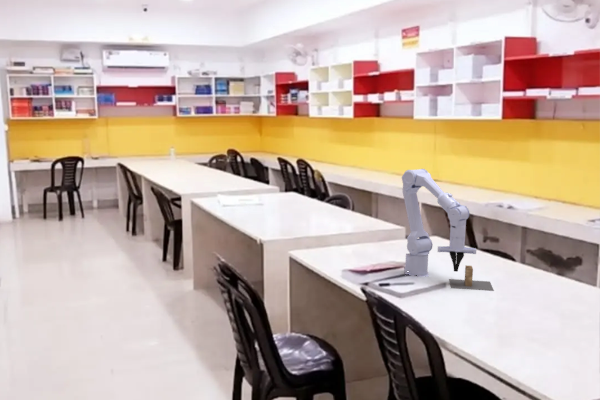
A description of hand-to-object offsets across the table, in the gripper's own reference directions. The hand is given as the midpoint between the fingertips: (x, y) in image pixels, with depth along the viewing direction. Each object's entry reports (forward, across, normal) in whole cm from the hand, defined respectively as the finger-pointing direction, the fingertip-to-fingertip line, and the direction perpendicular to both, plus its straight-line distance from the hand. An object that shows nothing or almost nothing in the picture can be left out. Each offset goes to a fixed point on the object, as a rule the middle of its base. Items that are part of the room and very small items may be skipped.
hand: (455, 270), depth 239 cm
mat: (+6, +6, 0) cm, 8 cm away
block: (+5, +5, 0) cm, 7 cm away
